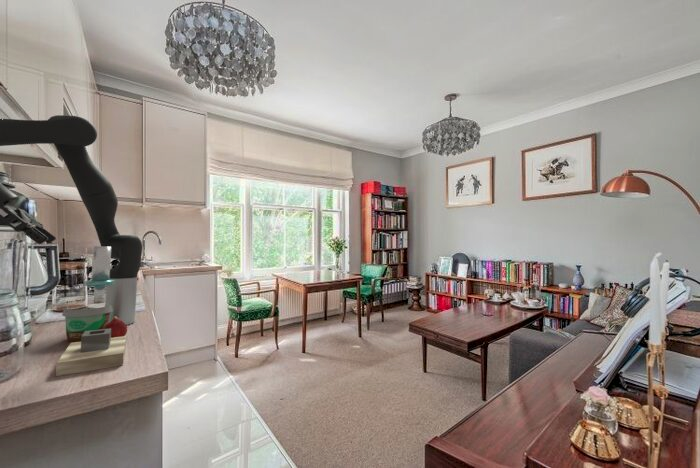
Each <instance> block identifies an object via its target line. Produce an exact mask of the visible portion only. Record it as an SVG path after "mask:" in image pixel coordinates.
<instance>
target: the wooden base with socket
mask: <svg viewBox="0 0 700 468" xmlns="http://www.w3.org/2000/svg"><path fill="white" fill-rule="evenodd" d="M126 345H127V336H126V335H125V336H123V337H115V338H111V328H109V329H100V330H91V331H85V332H84V333H83V335H82V337H81V342H74V343H73V342H69V345H68V347H67V348H66V349H65V351H64V352H63V353H62V354H61V357H60V358H59V359H58V361H57V362H56V368H55V369H56V371H55V377H58V376H59V377H60V376H66V375H71V374H73V375H74V374H78V373H84V372H85V373H86V372H89V371H90V372H91V371H96V370H101V369H108V368H114V367H118V366H121V367H122V366H124V360H125V359H124V358H125V353H126Z"/></svg>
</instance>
